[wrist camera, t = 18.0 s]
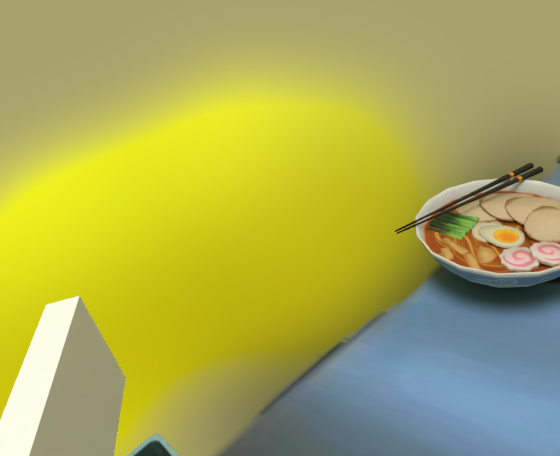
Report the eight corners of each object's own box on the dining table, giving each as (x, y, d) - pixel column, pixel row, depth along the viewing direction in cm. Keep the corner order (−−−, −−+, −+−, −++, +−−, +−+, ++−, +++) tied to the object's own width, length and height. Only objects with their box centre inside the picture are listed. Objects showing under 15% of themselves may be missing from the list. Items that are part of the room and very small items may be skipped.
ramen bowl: (486, 352, 57) (487, 300, 53) (381, 257, 76) (375, 213, 72) (647, 269, 63) (659, 216, 58) (511, 200, 82) (513, 155, 77)
